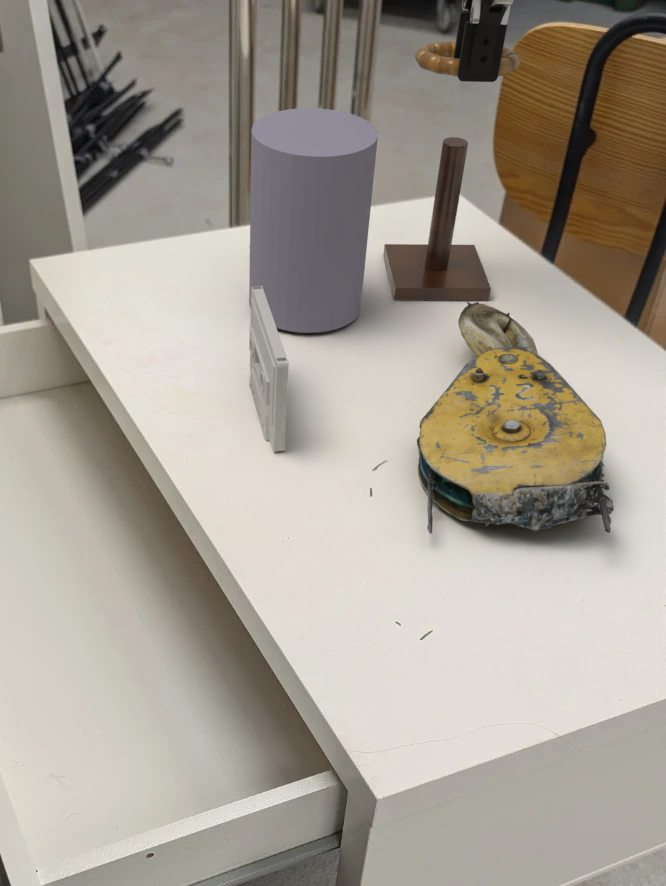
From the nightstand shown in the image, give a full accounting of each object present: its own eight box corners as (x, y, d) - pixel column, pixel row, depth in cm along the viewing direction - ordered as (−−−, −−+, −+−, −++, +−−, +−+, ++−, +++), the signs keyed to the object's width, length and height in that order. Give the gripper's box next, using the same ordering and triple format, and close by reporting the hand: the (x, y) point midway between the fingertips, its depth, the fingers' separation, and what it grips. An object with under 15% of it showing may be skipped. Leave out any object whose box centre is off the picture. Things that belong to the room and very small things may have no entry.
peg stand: (472, 256, 102) (496, 122, 93) (488, 300, 96) (516, 162, 87) (383, 256, 102) (398, 121, 92) (394, 300, 96) (411, 161, 87)
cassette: (291, 452, 80) (295, 362, 74) (267, 454, 79) (270, 364, 74) (265, 371, 87) (267, 283, 81) (243, 372, 87) (244, 284, 81)
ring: (506, 57, 88) (508, 41, 88) (526, 80, 82) (529, 62, 81) (409, 55, 88) (411, 39, 87) (423, 77, 82) (425, 60, 81)
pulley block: (589, 274, 86) (630, 491, 67) (582, 338, 90) (619, 560, 71) (419, 286, 89) (412, 500, 69) (420, 348, 93) (414, 565, 73)
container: (340, 345, 90) (355, 165, 79) (232, 322, 92) (232, 143, 81) (374, 293, 97) (393, 119, 85) (272, 272, 99) (277, 100, 87)
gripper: (610, -213, 64) (540, 112, 78) (554, -249, 74) (501, 44, 88) (491, -216, 63) (442, 110, 77) (451, -253, 74) (415, 42, 88)
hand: (474, 73), depth 83 cm, fingers closed on ring, 1 cm apart
